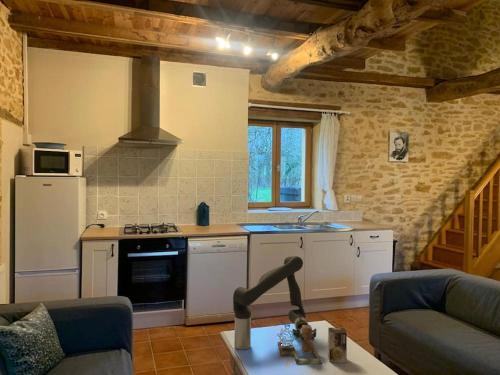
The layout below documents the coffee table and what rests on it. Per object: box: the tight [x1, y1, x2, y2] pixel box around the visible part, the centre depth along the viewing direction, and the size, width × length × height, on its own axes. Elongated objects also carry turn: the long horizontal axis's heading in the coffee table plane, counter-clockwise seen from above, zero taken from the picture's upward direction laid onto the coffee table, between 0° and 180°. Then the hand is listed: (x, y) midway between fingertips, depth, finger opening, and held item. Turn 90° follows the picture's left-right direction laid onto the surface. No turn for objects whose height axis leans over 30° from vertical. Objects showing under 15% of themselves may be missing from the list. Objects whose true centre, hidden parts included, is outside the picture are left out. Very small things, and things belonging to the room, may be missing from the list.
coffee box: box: [327, 327, 348, 364], centre depth 195 cm, size 9×6×16 cm
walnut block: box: [301, 324, 313, 354], centre depth 197 cm, size 4×4×13 cm
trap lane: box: [277, 341, 322, 365], centre depth 203 cm, size 20×24×2 cm
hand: (307, 338), depth 195 cm, fingers closed on walnut block, 4 cm apart
